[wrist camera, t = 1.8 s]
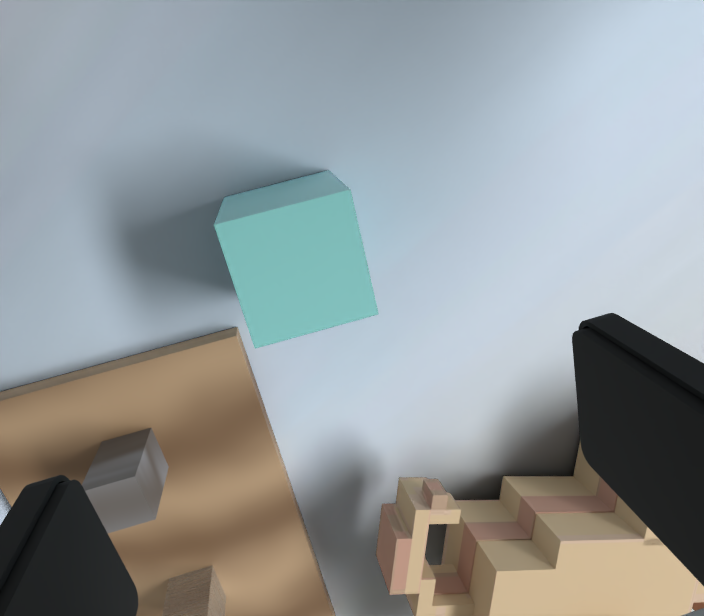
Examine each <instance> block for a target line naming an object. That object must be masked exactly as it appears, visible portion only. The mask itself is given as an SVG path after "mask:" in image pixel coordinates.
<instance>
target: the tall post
mask: <svg viewBox="0 0 704 616" xmlns="http://www.w3.org/2000/svg"><path fill="white" fill-rule="evenodd" d="M225 604H226V595H225V592H224V590H223V588H222V586H221V583H220V581H219V579H218V577H217V574H216V572H215V570H214V568H213V565H211V566H208V567H205V568H202V569H198V570H195V571H192V572H189V573H185V574H182V575H179V576H175V577H172V578H169V582H168V587H167V593H166V598H165V603H164V609H163V614H162V616H225Z"/></svg>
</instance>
